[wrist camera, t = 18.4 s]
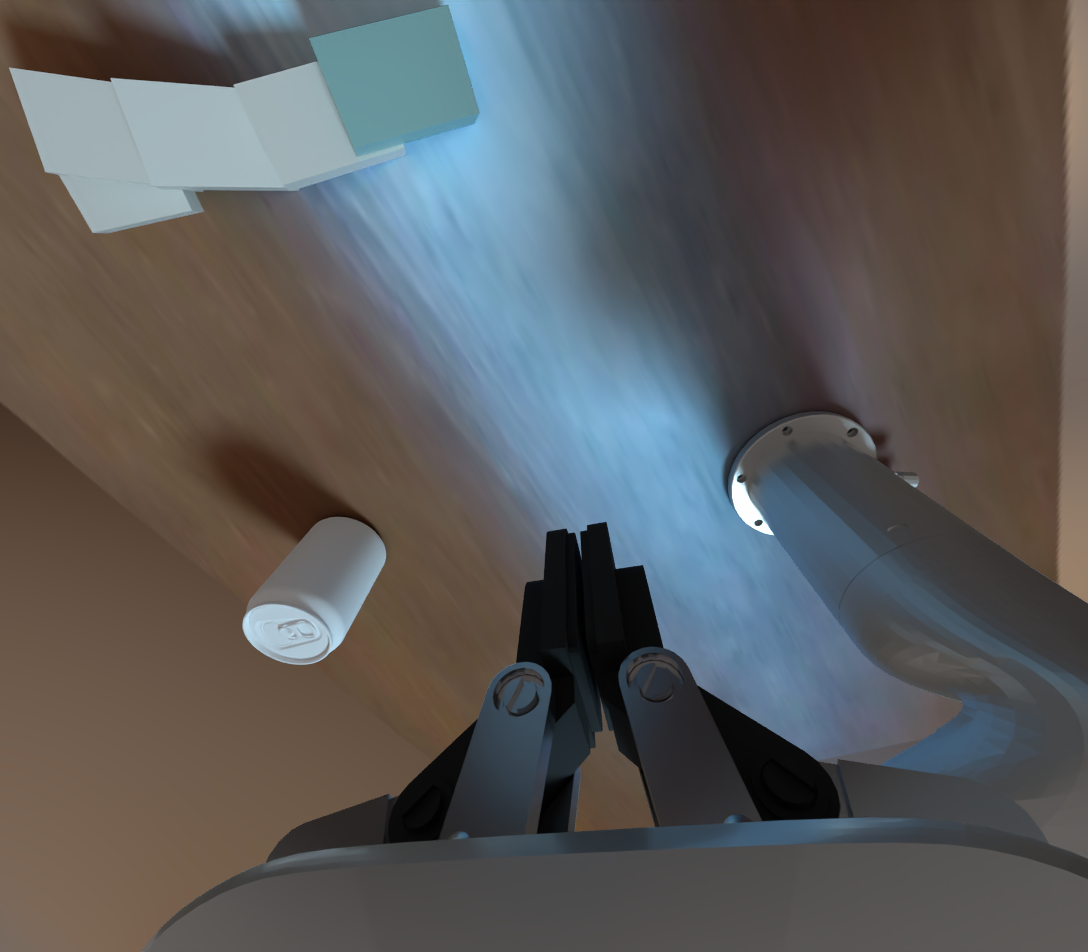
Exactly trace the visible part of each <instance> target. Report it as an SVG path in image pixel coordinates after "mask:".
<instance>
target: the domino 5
mask: <svg viewBox="0 0 1088 952" xmlns="http://www.w3.org/2000/svg"><path fill="white" fill-rule="evenodd" d="M309 40H310V43H311V46H312V49H313V52H314V55H315V57H316V60H317V62H318V65H319V67H320V70H321V72H322V74H323V77H324V79H325V82H326V84H327V86H328V89H329V91H330V94H331V96H332V99H333V101H334V103H335V106H336V108H337V111H338V113H339V116H340V118H341V120H342V123H343V125H344V128H345V130H346V132H347V135H348V137H349V140H350V142H351V145H352V147H353V149H354V152H355V154H356V157H359V156H362V155H366V154H369V153H373V152H376V151H380V150H383V149H387V148H390V147H394V146H397V145H401V144H404V143H408V142H411V141H415V140H418V139H422V138H425V137H429V136H432V135H435V134H439V133H442V132H446V131H449V130H453V129H456V128H460V127H463V126H467V125H470V124H474V123H475V122H476V119H477V117H478V115H479V109H478V106H477V103H476V99H475V96H474V92H473V89H472V85H471V82H470V79H469V75H468V72H467V68H466V65H465V61H464V58H463V55H462V51H461V48H460V44H459V41H458V37H457V34H456V31H455V27H454V24H453V20H452V17H451V13H450V10H449V7H448V5H445V6H441V7H437V8H432V9H428V10H424V11H420V12H416V13H412V14H407V15H403V16H399V17H395V18H391V19H387V20H382V21H378V22H374V23H370V24H366V25H362V26H357V27H353V28H349V29H345V30H341V31H337V32H332V33H328V34H324V35H320V36H316V37H312V38H309Z"/></svg>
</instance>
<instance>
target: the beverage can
mask: <svg viewBox="0 0 1088 952" xmlns="http://www.w3.org/2000/svg"><path fill="white" fill-rule="evenodd" d="M385 560H386V550H385V546H384V544H383V542H382V540H381V538H380V537H379V536H378V534H377V533H376V532H375V531H374V530H373V529H371V528H370V527H369V526H367V525H365V524H364V523H362V522H360V521H357V520H355V519H351V518H347V517H330V518H326V519H323V520H321V521H319V522H318V523H316V524H315V525H314V526H313V527H312V528H311V529H310V531H309V532H308V533H307V534H306V535H305V536H304V538H303V539H302V540H301V541H300V542H299V543H298V544H297V546H296V547H295V548H294V549H293V550H292V551H291V553H290V554H289V555H288V556H287V557H286V558H285V559H284V561H283V562H282V563H281V564H280V565H279V566H278V568H277V569H276V570H275V571H274V572H273V573H272V574H271V576H270V577H269V578H268V579H267V580H266V581H265V583H264V584H263V585H262V586H261V587H260V588H259V589H258V591H257V592H256V593H255V594H254V595H253V596H252V598H251V599H250V601H249V603H248V606H247V610H246V615H245V616H244V619H243V631H244V634H245V636H246V637H247V639H248V640H249V642H250V643H251V644H252V645H253V646H254V647H255V648H257V649H258V650H259V651H261V652H262V653H263V654H265V655H267V656H269V657H271V658H273V659H276V660H278V661H281V662H285V663H290V664H311V663H315V662H318V661H320V660H322V659H323V658H325V657H326V656H327V655H328V653H329V652H331V651H333V650H334V649H335V648H336V647H338V646H339V644H340V643H341V642H342V640H343V639H344V637H345V635H346V633H347V631H348V630H349V628H350V626H351V624H352V622H353V620H354V619H355V617H356V615H357V613H358V611H359V609H360V608H361V606H362V604H363V602H364V600H365V598H366V596H367V595H368V593H369V591H370V589H371V587H372V585H373V584H374V582H375V580H376V578H377V576H378V574H379V573H380V571H381V569H382V567H383V565H384V563H385Z"/></svg>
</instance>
